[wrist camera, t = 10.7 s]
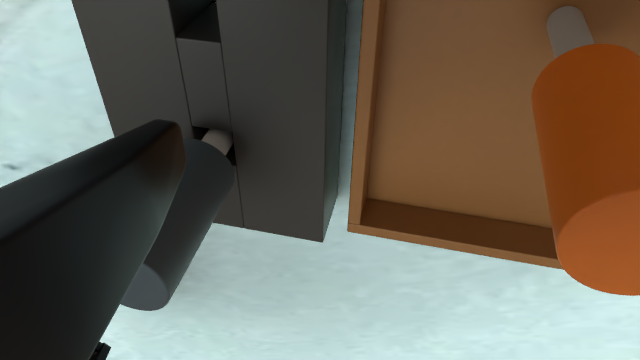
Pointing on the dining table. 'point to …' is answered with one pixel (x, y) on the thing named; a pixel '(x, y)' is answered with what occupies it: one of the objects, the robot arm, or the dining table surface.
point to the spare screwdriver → (185, 220)
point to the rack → (234, 93)
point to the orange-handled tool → (591, 154)
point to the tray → (461, 121)
